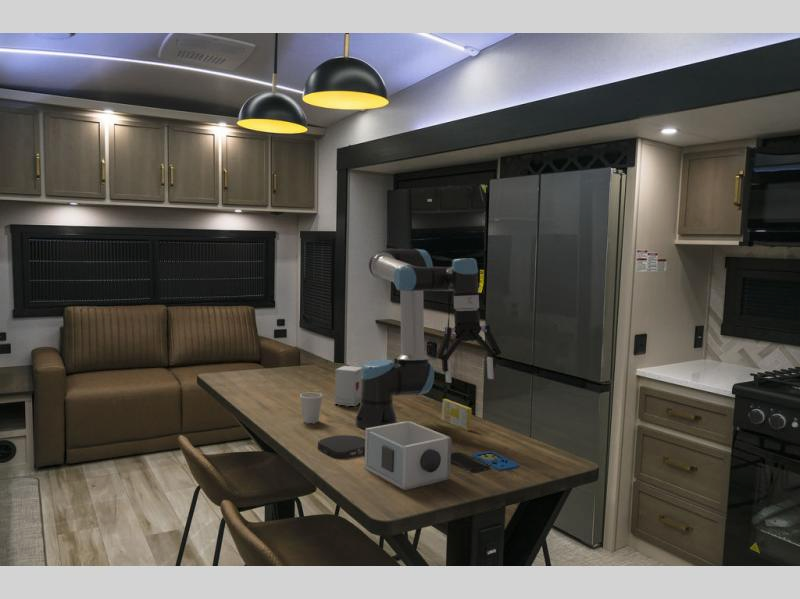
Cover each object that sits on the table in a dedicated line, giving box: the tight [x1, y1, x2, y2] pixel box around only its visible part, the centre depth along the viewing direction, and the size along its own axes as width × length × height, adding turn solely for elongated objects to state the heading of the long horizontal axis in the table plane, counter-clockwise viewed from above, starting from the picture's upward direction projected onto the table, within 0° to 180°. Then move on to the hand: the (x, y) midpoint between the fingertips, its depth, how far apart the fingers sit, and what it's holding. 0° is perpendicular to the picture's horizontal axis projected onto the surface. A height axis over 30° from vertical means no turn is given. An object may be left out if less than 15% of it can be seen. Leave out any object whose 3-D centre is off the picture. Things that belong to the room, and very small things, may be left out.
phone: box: [450, 451, 491, 474], centre depth 193 cm, size 8×1×15 cm
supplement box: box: [334, 365, 363, 407], centre depth 260 cm, size 9×9×15 cm
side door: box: [368, 431, 403, 483], centre depth 178 cm, size 2×16×10 cm, turn 36°
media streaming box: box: [317, 434, 365, 459], centre depth 204 cm, size 15×15×3 cm
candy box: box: [441, 398, 473, 432], centre depth 234 cm, size 16×2×8 cm, turn 31°
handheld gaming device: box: [471, 450, 519, 472], centre depth 196 cm, size 8×1×15 cm
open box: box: [364, 420, 452, 491], centre depth 182 cm, size 16×22×12 cm
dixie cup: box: [299, 391, 323, 424], centre depth 234 cm, size 8×8×10 cm
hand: (469, 380), depth 190 cm, fingers open, 13 cm apart
